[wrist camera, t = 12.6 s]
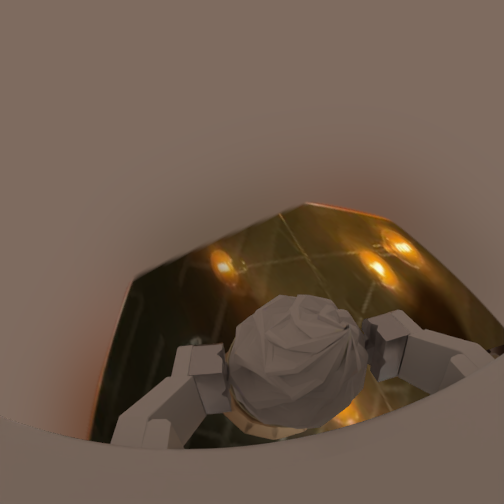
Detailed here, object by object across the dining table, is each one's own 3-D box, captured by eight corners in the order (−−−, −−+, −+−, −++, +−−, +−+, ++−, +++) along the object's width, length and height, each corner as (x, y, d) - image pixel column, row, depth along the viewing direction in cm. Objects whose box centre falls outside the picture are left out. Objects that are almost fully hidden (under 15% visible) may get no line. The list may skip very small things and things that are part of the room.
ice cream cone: (326, 384, 17) (494, 347, 4) (264, 424, 16) (291, 532, 2) (286, 326, 19) (353, 168, 6) (224, 364, 18) (133, 283, 4)
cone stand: (269, 442, 28) (274, 473, 16) (206, 383, 32) (176, 381, 20) (331, 380, 31) (368, 376, 20) (268, 324, 35) (272, 291, 23)
